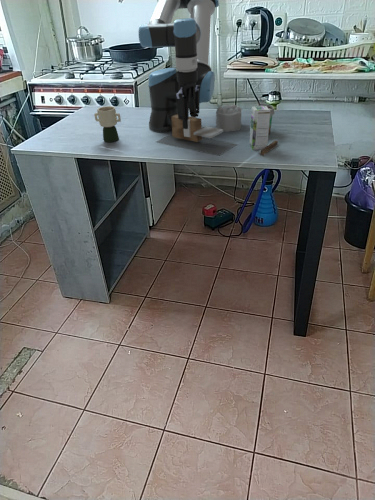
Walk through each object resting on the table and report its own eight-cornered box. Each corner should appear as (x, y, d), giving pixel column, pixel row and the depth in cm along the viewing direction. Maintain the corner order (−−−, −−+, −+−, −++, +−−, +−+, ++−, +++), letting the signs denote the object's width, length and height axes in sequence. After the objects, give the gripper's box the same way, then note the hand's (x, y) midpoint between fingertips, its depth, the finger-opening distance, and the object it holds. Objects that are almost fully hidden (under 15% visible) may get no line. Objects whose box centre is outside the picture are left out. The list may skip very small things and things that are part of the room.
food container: (272, 138, 150) (274, 112, 145) (256, 138, 152) (258, 112, 146) (273, 128, 160) (275, 103, 154) (258, 128, 161) (259, 103, 156)
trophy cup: (127, 138, 159) (122, 106, 151) (120, 144, 153) (115, 111, 146) (102, 137, 161) (97, 105, 154) (95, 143, 156) (89, 110, 148)
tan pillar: (168, 138, 151) (167, 118, 146) (180, 132, 156) (179, 112, 151) (211, 147, 141) (211, 126, 136) (222, 140, 146) (223, 119, 142)
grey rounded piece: (241, 123, 168) (242, 102, 163) (239, 133, 158) (239, 111, 153) (218, 122, 170) (218, 102, 165) (214, 132, 160) (213, 111, 155)
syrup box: (248, 145, 145) (250, 106, 137) (264, 144, 146) (266, 105, 137) (252, 151, 141) (254, 110, 132) (268, 149, 141) (271, 109, 132)
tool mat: (155, 143, 152) (155, 142, 152) (174, 133, 161) (174, 132, 161) (219, 156, 138) (219, 155, 137) (237, 145, 146) (237, 144, 146)
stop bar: (260, 154, 137) (260, 150, 136) (274, 144, 145) (274, 140, 144) (263, 155, 137) (263, 151, 136) (277, 144, 144) (277, 140, 144)
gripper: (182, 75, 128) (185, 143, 142) (208, 66, 138) (209, 130, 152) (164, 73, 132) (169, 140, 146) (191, 64, 142) (193, 127, 156)
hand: (190, 134), depth 149 cm, fingers closed on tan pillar, 3 cm apart
